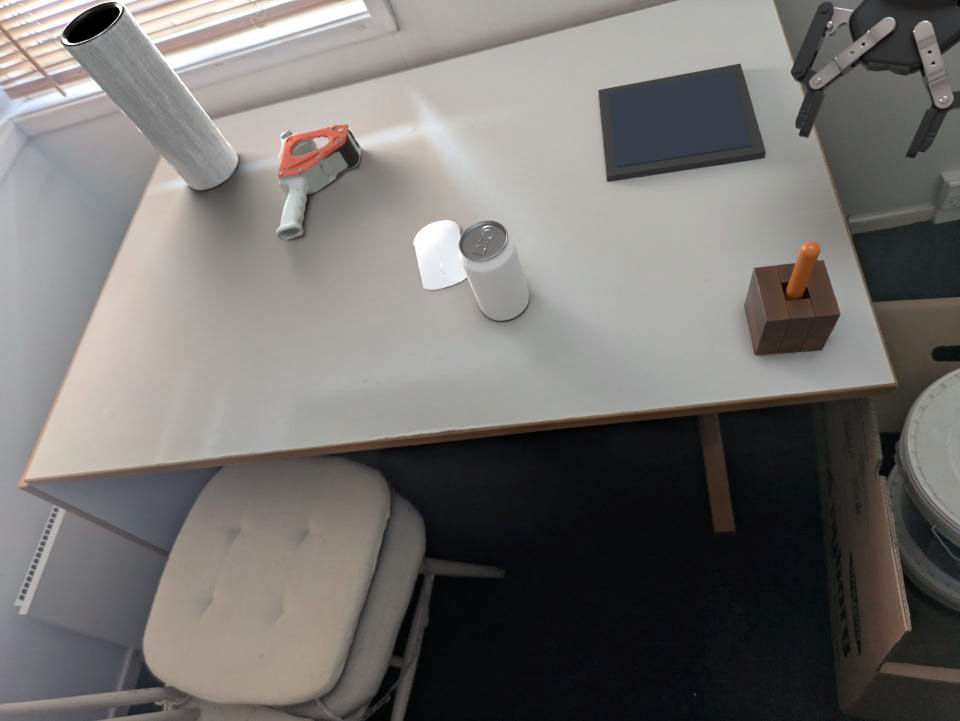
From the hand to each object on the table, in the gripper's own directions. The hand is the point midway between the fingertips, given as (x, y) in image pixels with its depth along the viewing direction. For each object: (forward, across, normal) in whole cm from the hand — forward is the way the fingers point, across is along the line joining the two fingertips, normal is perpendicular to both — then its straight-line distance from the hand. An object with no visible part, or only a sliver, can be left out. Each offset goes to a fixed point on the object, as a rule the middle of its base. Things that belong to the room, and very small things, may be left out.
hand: (854, 146), depth 52 cm
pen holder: (+18, 0, +7) cm, 20 cm away
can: (+25, -30, +1) cm, 40 cm away
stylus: (+18, 0, +7) cm, 20 cm away
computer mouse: (+23, -43, +3) cm, 49 cm away
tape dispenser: (+20, -72, +6) cm, 75 cm away
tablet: (0, -23, +26) cm, 35 cm away
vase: (+22, -94, +3) cm, 97 cm away
